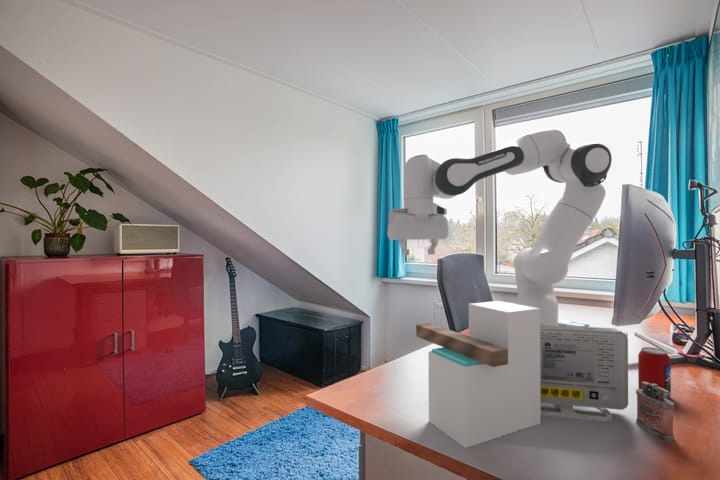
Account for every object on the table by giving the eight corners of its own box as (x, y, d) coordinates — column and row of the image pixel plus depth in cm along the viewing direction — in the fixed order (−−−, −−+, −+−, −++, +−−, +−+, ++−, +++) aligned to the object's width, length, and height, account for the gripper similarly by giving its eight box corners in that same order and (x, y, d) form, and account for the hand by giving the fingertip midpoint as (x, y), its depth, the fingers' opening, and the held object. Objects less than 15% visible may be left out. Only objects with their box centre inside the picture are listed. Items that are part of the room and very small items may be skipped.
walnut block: (416, 336, 95) (416, 324, 95) (428, 334, 97) (428, 323, 97) (493, 367, 72) (493, 351, 72) (508, 364, 74) (507, 349, 74)
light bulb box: (590, 352, 135) (590, 323, 135) (583, 356, 131) (583, 326, 131) (559, 346, 144) (559, 318, 144) (552, 349, 139) (552, 321, 139)
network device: (616, 406, 91) (616, 326, 91) (634, 424, 83) (633, 335, 83) (507, 397, 97) (506, 321, 97) (512, 412, 88) (512, 329, 89)
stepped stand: (428, 421, 84) (428, 307, 84) (499, 402, 94) (498, 300, 94) (465, 448, 73) (464, 317, 73) (540, 423, 83) (540, 308, 83)
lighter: (631, 422, 84) (631, 378, 84) (645, 421, 84) (645, 377, 84) (664, 441, 76) (663, 392, 76) (679, 440, 76) (679, 392, 76)
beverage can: (677, 401, 94) (676, 354, 94) (647, 399, 95) (646, 353, 95) (661, 391, 101) (660, 347, 101) (633, 389, 102) (633, 346, 102)
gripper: (394, 207, 104) (394, 255, 104) (451, 209, 113) (451, 254, 113) (383, 208, 110) (383, 255, 110) (438, 211, 119) (438, 253, 119)
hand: (418, 254), depth 112 cm, fingers open, 8 cm apart
